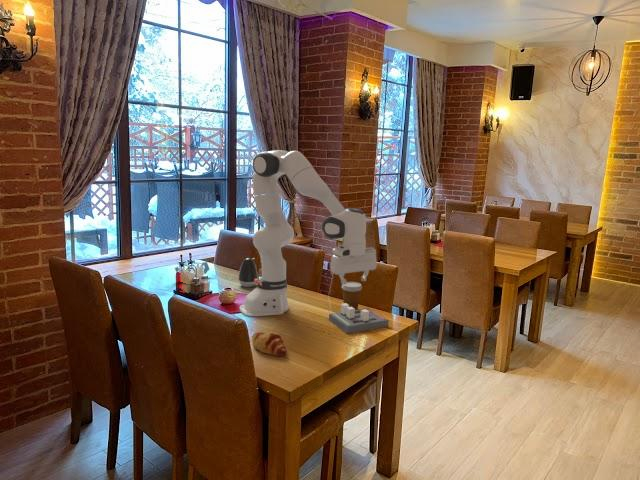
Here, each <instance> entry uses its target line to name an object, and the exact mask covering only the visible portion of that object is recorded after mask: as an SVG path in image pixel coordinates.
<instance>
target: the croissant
mask: <svg viewBox="0 0 640 480" xmlns="http://www.w3.org/2000/svg"><path fill="white" fill-rule="evenodd" d="M251 338H252V344H253V346H254V349H255V350H257V351H260V352H261V353H263V354H267V355H268V354H269V355H271V356H276V357H277V356H278V357H281V356H284V355H286V354H287V351H288V350H287V349H286V348H287V347H286V346H285V344H284V340H283V339H282V336H281V335H280V334H279V333H278V332H266V331H265V332H264V331H261V332H255V333H254V334H252V336H251Z"/></svg>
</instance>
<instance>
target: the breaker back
mask: <svg viewBox="0 0 640 480" xmlns="http://www.w3.org/2000/svg"><path fill="white" fill-rule="evenodd" d="M347 307H349V305H348V304H347V303H344V302H342V303H340V312H341V313H342V314H344V315H345V314H346V311H347Z"/></svg>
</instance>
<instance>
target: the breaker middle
mask: <svg viewBox="0 0 640 480" xmlns="http://www.w3.org/2000/svg"><path fill="white" fill-rule="evenodd" d="M346 316H347V317H348V318H349V319H350V318H354V317H355V309H354V308H353V307H347V311H346Z"/></svg>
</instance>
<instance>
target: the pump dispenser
mask: <svg viewBox="0 0 640 480" xmlns="http://www.w3.org/2000/svg"><path fill="white" fill-rule="evenodd" d="M255 260H256V258H255V257H253V258H250V257H246V258H244V259H243V261H242V262H241V265H240V268H239V272H238V281H239V283H240V285H241V286H242V287H244V288H251V287H255V285H257V284H256V283H255V282H254V281H255V279H258V280H259V275H258V270H257V269H258V268H257V265H256V264H255Z"/></svg>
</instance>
